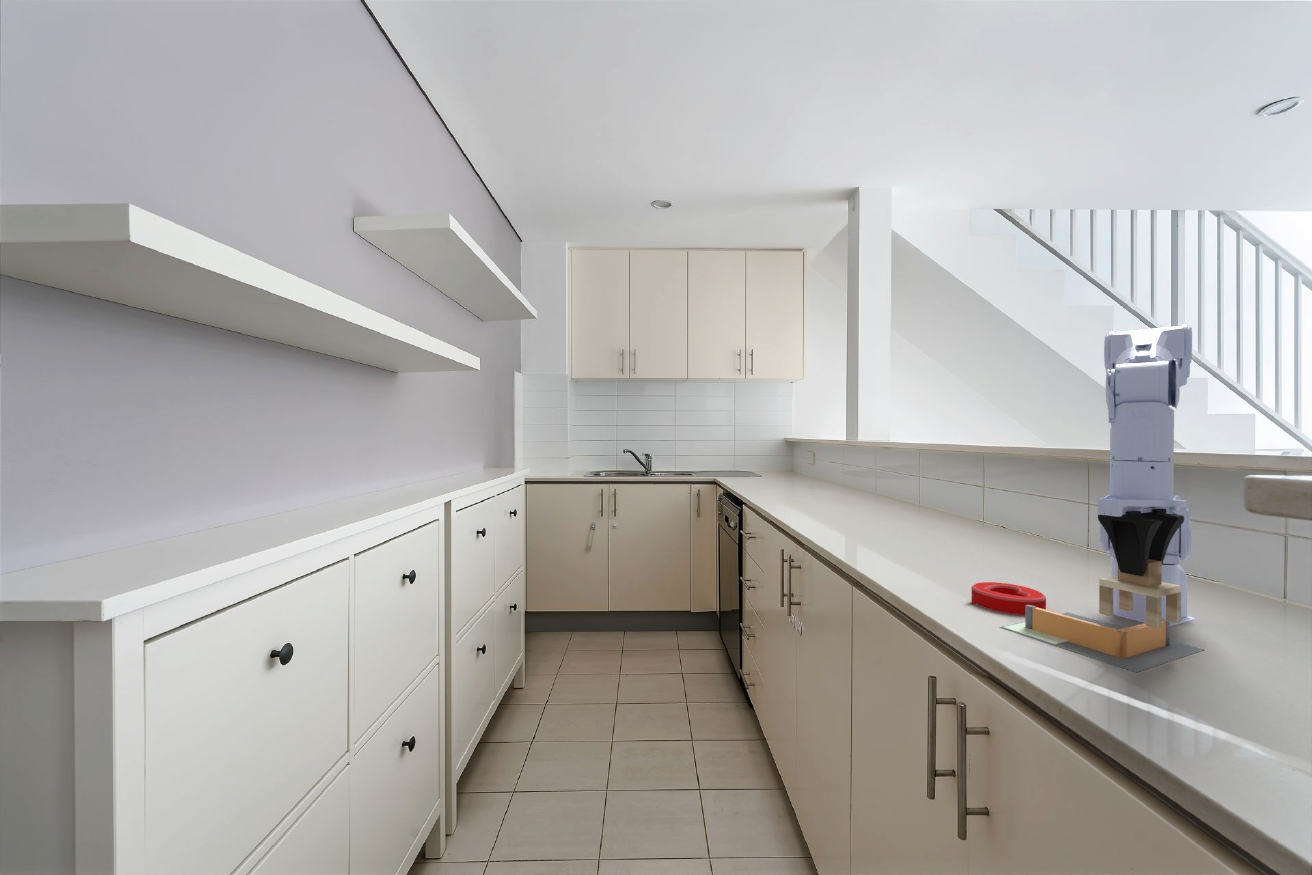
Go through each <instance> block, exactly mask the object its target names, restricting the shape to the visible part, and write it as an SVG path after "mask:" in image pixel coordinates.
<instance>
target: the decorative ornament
mask: <svg viewBox="0 0 1312 875" xmlns="http://www.w3.org/2000/svg"><path fill="white" fill-rule="evenodd" d="M971 605H972V606H973V605H974V606H976V605H977V606H979V607H982V608H984V609H985V608H986V609H988V610H991V611H995V612H1001V613H1004V614H1011V615H1012V614H1013V615H1019V616H1020V615H1023V616H1025V609H1026V605H1032V606H1035V607H1038V608H1041V609H1045V610H1047V597H1046V596H1045V594H1044V593H1042V592H1041V591H1038V590H1037V589H1033V588H1030V587H1028V586H1027V587H1026V586H1023V585H1017V584H1013V583H1007V582H1006V583H1005V582H994V581H992V582H991V581H984V582H983V581H982V582H976V583H974V584H973V585H972V586H971Z"/></svg>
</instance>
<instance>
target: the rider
mask: <svg viewBox="0 0 1312 875" xmlns="http://www.w3.org/2000/svg"><path fill="white" fill-rule="evenodd" d="M1161 579H1162V561H1156V560H1150V559H1148V563H1147V568H1146V571H1145V573H1144V576H1137V575H1132V574H1127V573H1122V572H1120V569H1119V567H1118V576H1112V577H1111V576H1108V577H1102V578H1099V580H1098V581H1099V583H1098V584H1099V585H1098V586H1099V588H1098V589H1099V590H1098V593H1099V595H1098V600H1099V601H1098V602H1099V603H1098V605H1099V606H1098V607H1099V608H1098V609H1099V611H1098V613H1099V614H1100V615H1104V616H1108V617H1111V616H1113V588H1115V589H1119V609H1122V610H1126V611H1132V610H1133V593H1138V594H1143V595H1146V625H1147V626H1150V627H1154V628H1159V627H1161V606H1162V596H1166V620H1168V621H1172V622H1176V623H1178V622H1181V585H1176V584H1171V583H1165V582H1161Z"/></svg>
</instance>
